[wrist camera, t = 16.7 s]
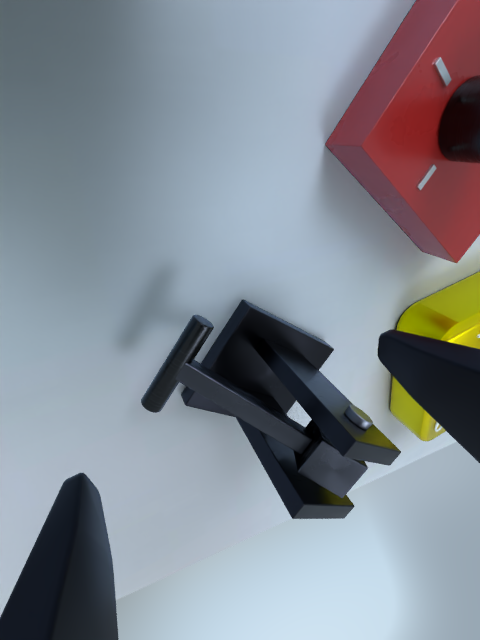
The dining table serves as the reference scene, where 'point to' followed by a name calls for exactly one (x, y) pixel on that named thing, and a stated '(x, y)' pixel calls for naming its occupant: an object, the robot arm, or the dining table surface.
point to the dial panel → (417, 128)
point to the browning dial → (462, 124)
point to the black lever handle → (251, 412)
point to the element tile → (443, 324)
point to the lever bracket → (291, 403)
